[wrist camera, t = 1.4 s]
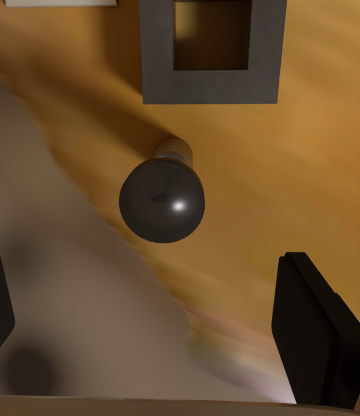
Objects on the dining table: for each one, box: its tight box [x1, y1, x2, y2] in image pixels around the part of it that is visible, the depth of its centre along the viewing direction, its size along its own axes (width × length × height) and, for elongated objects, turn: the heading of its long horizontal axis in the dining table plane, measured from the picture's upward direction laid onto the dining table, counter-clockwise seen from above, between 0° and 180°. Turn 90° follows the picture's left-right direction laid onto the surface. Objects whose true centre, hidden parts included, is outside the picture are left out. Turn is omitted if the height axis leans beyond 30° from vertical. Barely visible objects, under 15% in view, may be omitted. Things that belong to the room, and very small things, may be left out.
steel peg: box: [119, 138, 205, 243], centre depth 24 cm, size 5×5×13 cm
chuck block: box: [138, 0, 287, 104], centre depth 24 cm, size 10×10×5 cm
